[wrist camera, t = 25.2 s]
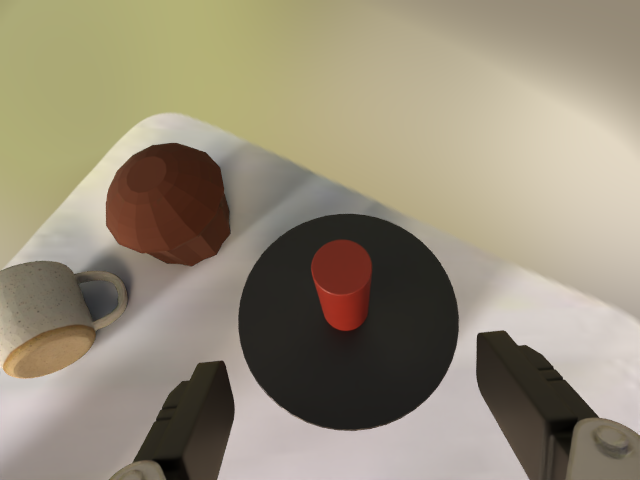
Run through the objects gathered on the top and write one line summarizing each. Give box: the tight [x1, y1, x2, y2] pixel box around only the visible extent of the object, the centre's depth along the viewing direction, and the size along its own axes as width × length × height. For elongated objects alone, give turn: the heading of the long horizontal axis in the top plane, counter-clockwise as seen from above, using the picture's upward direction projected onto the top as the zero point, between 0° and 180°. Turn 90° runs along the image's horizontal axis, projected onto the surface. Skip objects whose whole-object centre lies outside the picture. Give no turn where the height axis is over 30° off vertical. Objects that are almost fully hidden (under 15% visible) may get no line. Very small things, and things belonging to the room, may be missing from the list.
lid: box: [238, 214, 459, 431], centre depth 23 cm, size 15×15×9 cm
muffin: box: [106, 143, 230, 266], centre depth 37 cm, size 12×11×10 cm
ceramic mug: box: [0, 261, 128, 378], centre depth 35 cm, size 11×8×8 cm
